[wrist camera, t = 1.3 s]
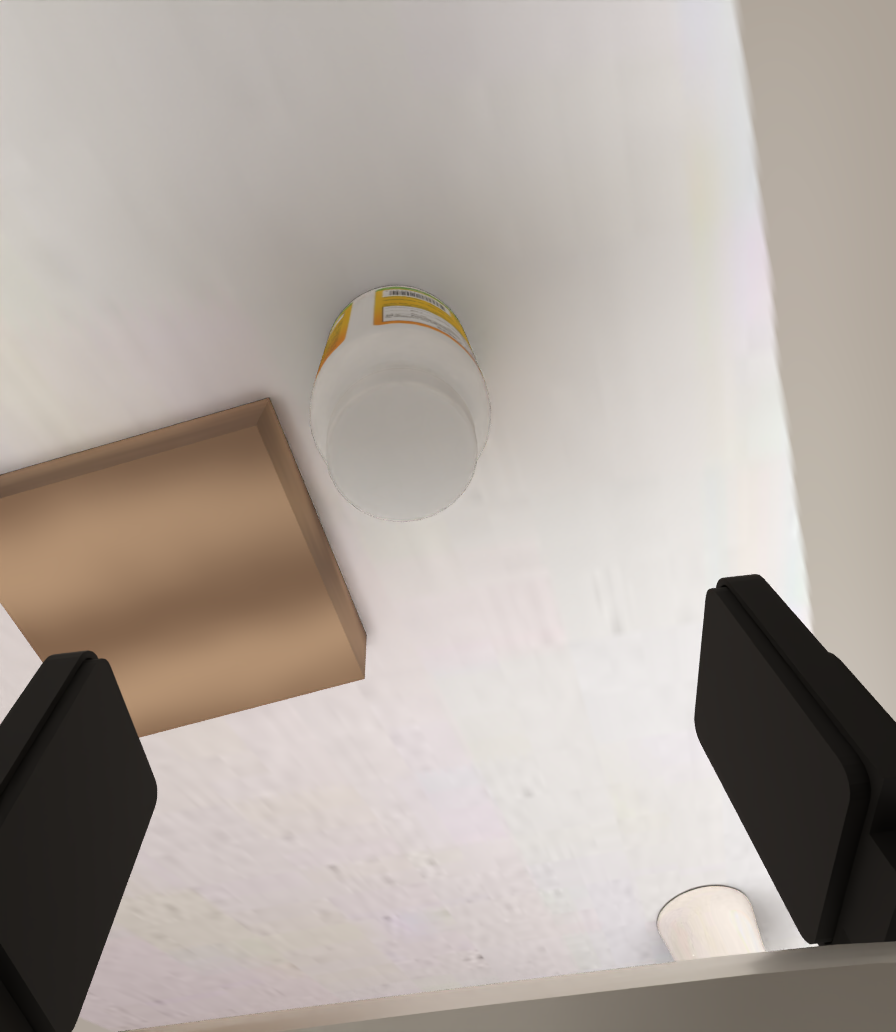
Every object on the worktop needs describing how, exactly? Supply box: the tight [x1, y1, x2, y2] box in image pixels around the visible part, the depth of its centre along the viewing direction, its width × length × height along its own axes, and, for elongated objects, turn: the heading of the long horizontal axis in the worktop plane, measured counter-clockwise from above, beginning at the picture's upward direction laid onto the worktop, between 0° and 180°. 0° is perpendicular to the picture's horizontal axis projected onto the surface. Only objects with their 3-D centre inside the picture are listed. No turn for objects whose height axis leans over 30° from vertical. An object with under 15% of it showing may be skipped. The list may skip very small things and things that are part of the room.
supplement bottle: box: [310, 286, 491, 522], centre depth 23 cm, size 5×5×10 cm
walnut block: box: [0, 398, 367, 737], centre depth 29 cm, size 12×12×3 cm
